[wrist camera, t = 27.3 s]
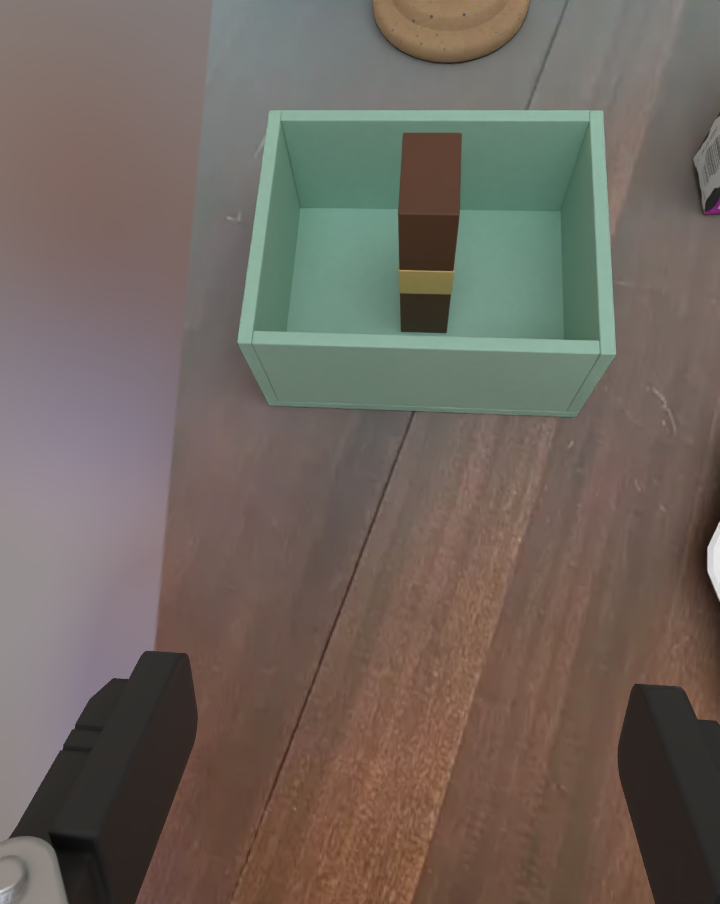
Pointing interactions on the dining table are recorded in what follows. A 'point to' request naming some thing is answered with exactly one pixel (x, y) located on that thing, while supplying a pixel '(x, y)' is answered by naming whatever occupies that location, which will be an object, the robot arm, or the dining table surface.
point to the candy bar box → (709, 170)
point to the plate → (714, 561)
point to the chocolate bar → (428, 228)
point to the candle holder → (449, 26)
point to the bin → (476, 265)
